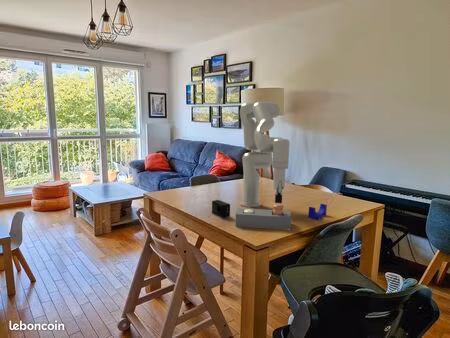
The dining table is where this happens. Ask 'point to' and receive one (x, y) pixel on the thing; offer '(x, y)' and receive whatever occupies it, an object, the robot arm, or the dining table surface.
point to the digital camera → (221, 208)
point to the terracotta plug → (277, 209)
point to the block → (263, 219)
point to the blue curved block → (319, 214)
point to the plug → (249, 211)
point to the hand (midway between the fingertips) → (278, 202)
